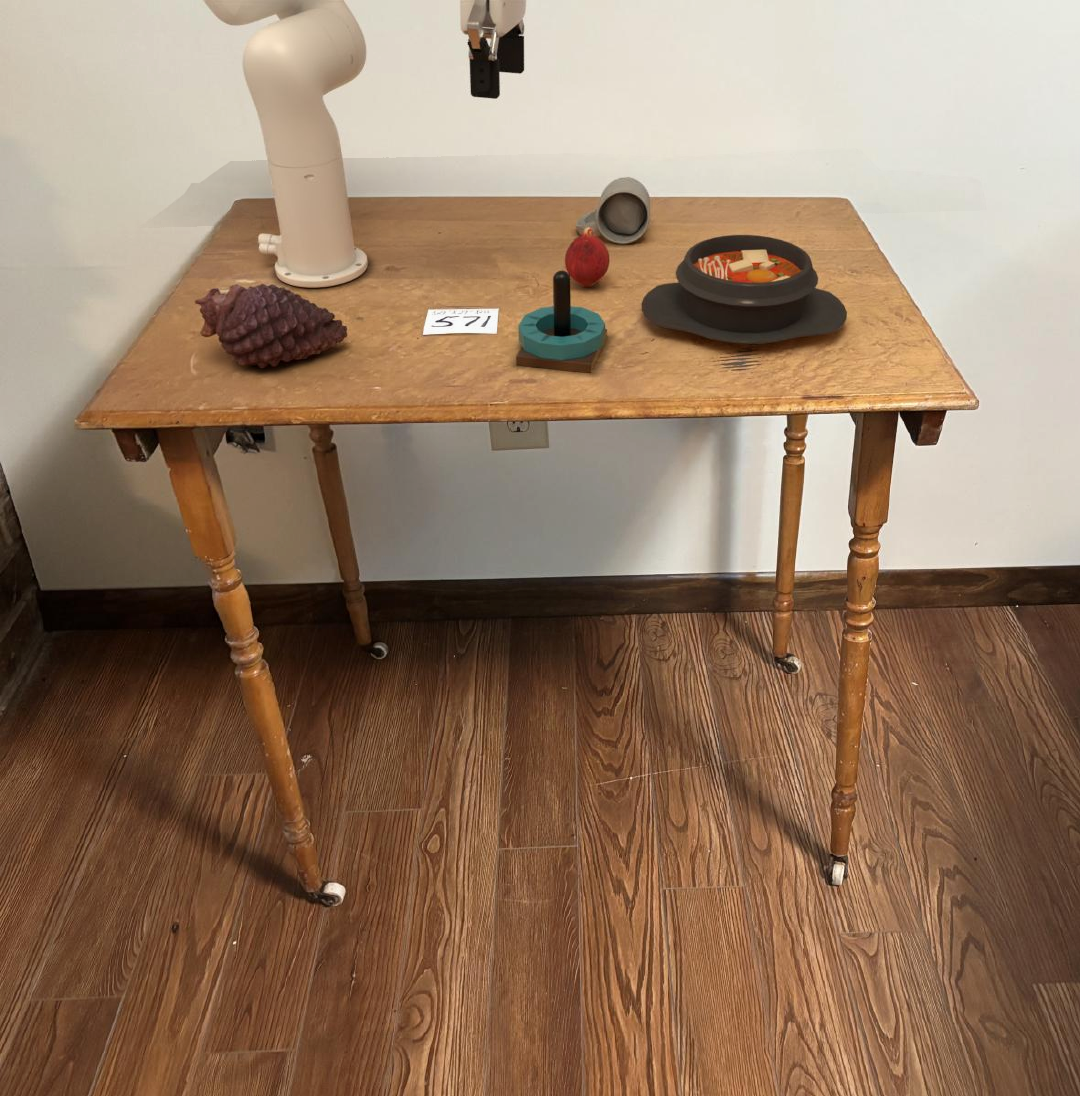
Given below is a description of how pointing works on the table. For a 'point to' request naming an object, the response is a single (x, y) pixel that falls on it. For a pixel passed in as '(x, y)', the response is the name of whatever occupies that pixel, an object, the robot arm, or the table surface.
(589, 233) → the onion
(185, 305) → the table surface
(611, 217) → the ceramic mug
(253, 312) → the pine cone
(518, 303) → the table surface
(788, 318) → the casserole
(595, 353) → the stand
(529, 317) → the ring
